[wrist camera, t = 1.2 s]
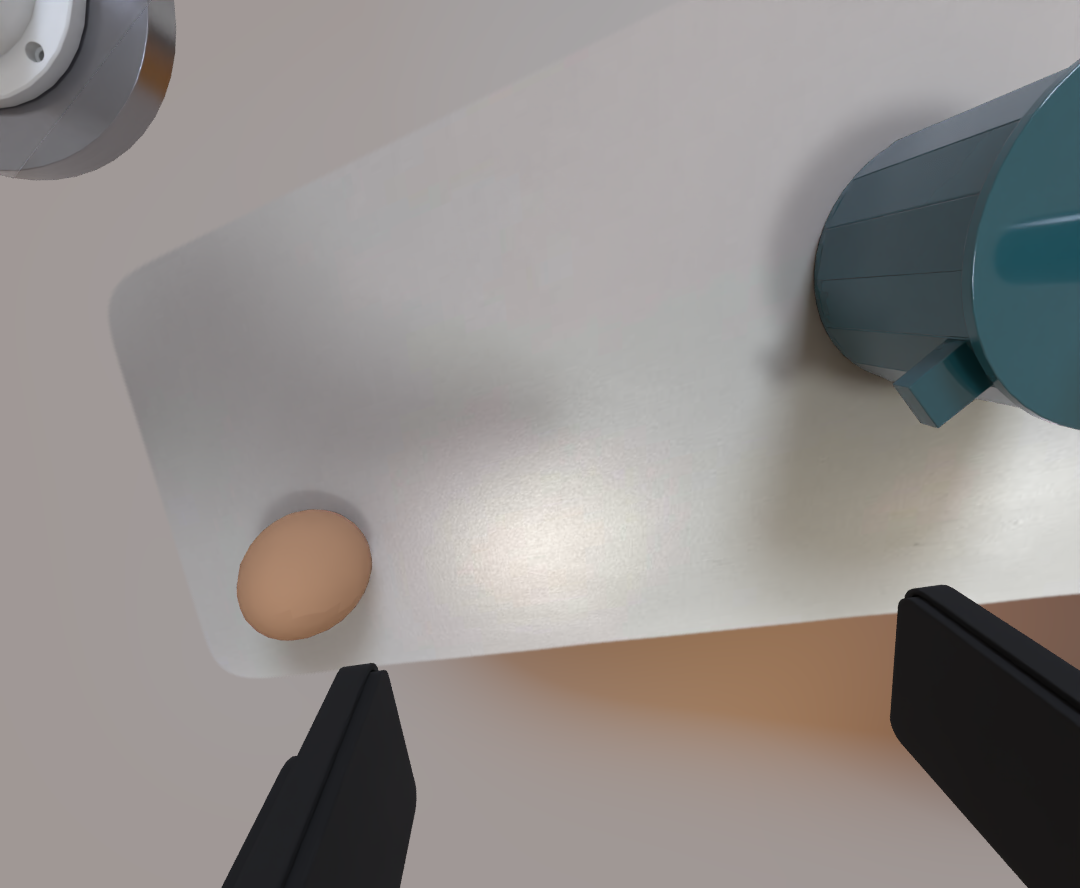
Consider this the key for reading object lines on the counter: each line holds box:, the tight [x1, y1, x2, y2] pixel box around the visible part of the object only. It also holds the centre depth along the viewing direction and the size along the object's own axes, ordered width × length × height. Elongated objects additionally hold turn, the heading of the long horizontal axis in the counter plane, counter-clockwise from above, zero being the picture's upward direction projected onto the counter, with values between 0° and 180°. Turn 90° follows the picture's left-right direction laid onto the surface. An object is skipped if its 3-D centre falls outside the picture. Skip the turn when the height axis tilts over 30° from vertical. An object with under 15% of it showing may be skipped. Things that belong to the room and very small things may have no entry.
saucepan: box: [814, 68, 1067, 428], centre depth 24 cm, size 14×19×10 cm
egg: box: [237, 509, 372, 640], centre depth 28 cm, size 6×6×8 cm
